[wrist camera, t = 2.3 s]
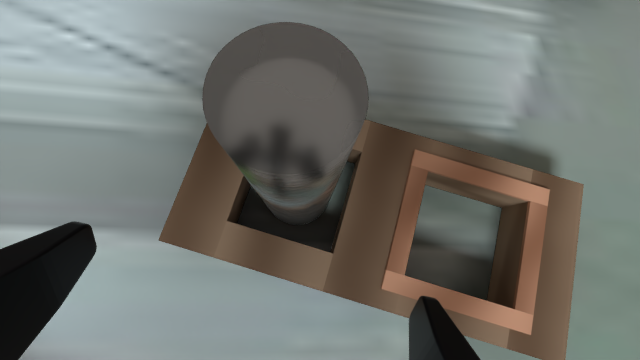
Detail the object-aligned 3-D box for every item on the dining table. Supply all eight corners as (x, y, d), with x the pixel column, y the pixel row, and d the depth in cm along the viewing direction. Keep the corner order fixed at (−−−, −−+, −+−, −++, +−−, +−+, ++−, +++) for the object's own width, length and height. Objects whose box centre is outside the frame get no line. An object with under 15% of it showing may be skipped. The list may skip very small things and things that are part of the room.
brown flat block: (551, 192, 21) (586, 183, 19) (531, 352, 19) (567, 367, 16) (234, 97, 22) (224, 75, 19) (176, 242, 19) (156, 240, 17)
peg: (340, 206, 20) (398, 126, 8) (283, 236, 20) (247, 203, 7) (310, 152, 21) (320, -1, 8) (255, 180, 20) (176, 60, 8)
